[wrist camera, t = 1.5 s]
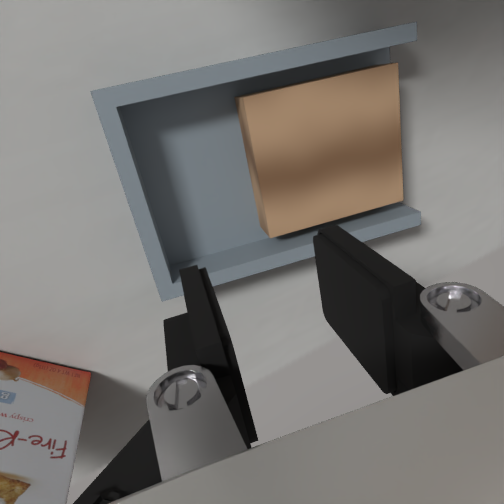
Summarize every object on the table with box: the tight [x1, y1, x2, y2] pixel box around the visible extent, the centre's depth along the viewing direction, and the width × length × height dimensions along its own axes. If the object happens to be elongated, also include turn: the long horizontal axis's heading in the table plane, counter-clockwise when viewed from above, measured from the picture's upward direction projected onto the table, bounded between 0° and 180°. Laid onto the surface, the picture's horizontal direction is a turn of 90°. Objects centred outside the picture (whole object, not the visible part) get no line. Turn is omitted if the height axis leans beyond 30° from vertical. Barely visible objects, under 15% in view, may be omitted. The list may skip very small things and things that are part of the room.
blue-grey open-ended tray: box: [90, 22, 421, 301], centre depth 27 cm, size 13×19×4 cm
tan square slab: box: [234, 63, 403, 238], centre depth 27 cm, size 9×10×2 cm
